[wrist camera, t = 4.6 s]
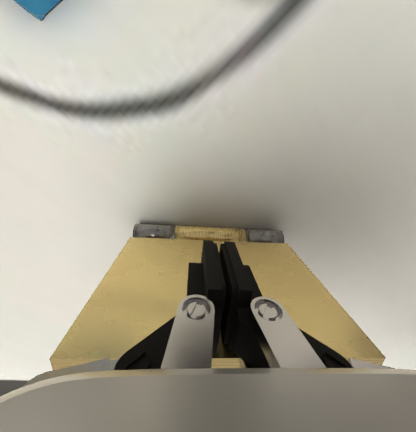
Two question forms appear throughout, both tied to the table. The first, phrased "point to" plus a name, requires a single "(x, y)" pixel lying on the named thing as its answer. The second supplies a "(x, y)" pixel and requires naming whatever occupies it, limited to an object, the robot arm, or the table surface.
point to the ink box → (37, 6)
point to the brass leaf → (177, 290)
